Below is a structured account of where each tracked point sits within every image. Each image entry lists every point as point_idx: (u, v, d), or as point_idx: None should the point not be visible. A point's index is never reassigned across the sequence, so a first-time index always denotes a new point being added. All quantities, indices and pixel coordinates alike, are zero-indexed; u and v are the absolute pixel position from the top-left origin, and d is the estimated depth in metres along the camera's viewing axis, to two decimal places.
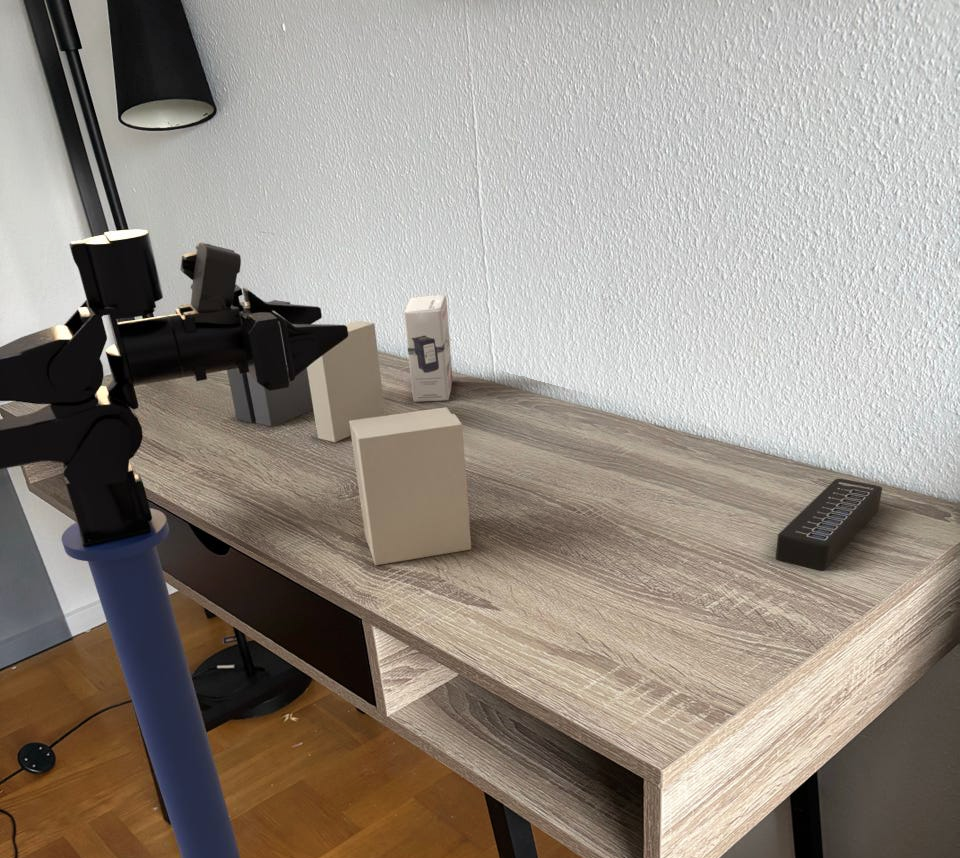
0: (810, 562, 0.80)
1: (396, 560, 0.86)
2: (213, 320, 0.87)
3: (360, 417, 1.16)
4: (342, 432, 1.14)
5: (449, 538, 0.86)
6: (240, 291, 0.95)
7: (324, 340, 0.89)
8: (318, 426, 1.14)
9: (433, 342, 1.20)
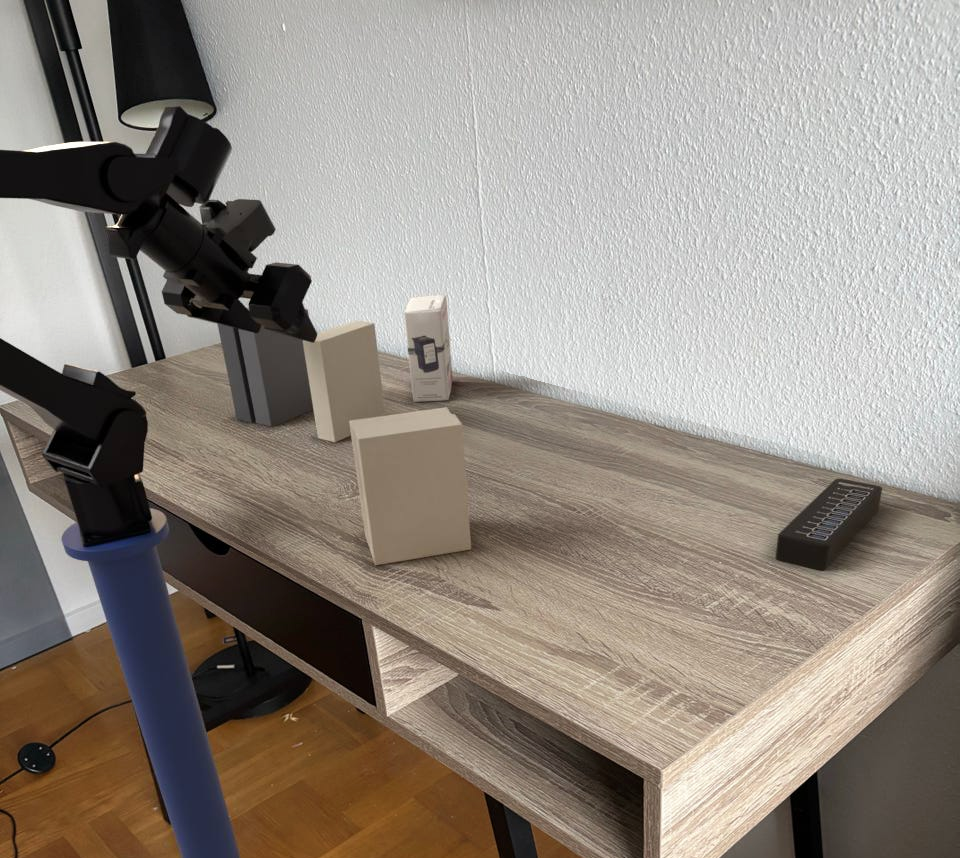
0: (810, 562, 0.80)
1: (396, 560, 0.86)
2: (237, 248, 0.93)
3: (360, 417, 1.16)
4: (342, 432, 1.14)
5: (449, 538, 0.86)
6: None
7: (304, 328, 0.99)
8: (318, 426, 1.14)
9: (433, 342, 1.20)
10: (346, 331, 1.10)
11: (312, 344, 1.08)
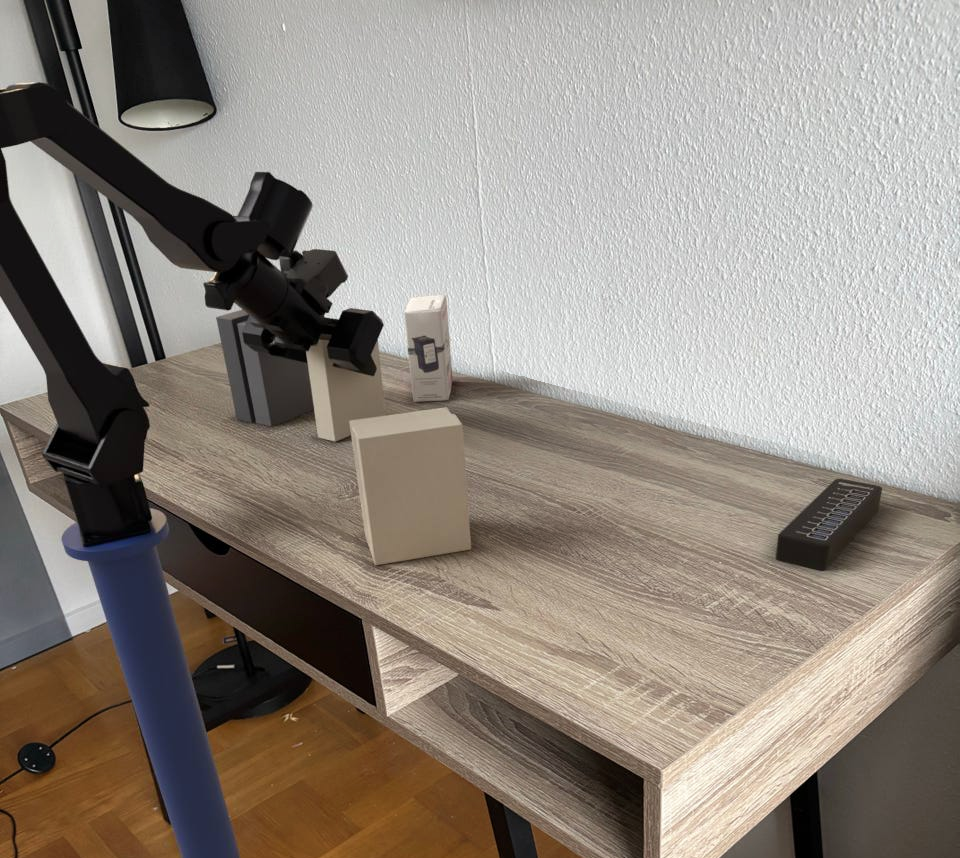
0: (810, 562, 0.80)
1: (396, 560, 0.86)
2: (316, 296, 1.03)
3: (361, 417, 1.16)
4: (342, 432, 1.14)
5: (449, 538, 0.86)
6: None
7: (366, 364, 1.10)
8: (319, 426, 1.14)
9: (433, 342, 1.20)
10: None
11: None
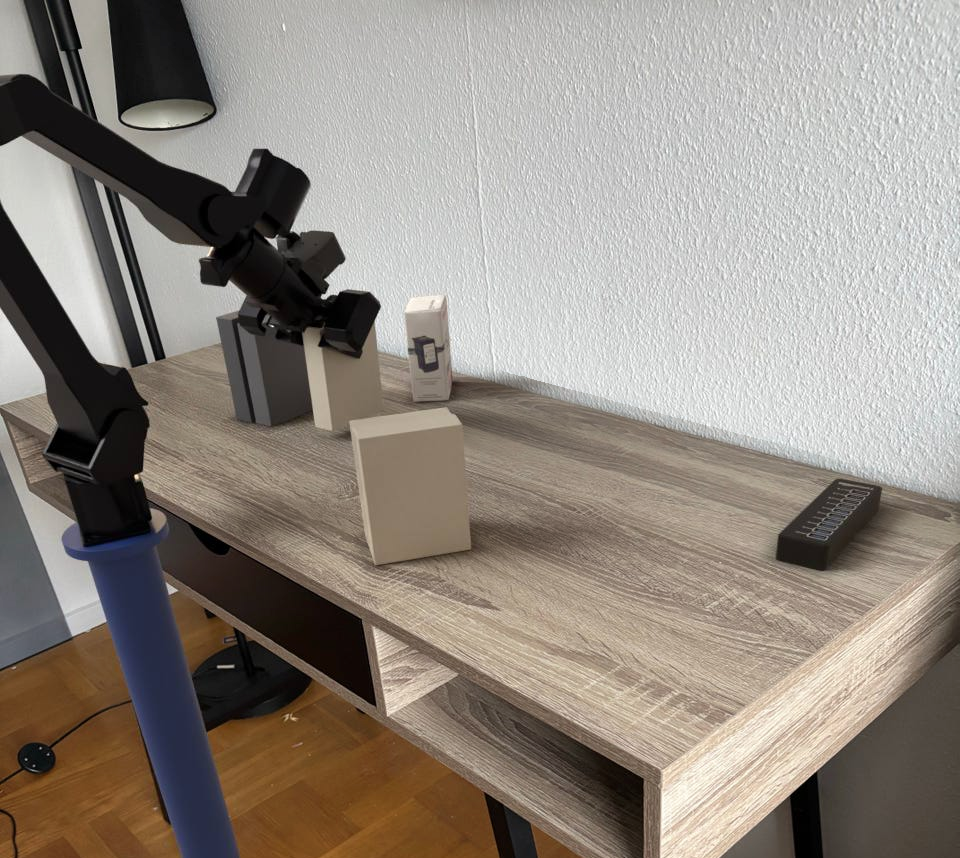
0: (810, 562, 0.80)
1: (396, 560, 0.86)
2: (313, 276, 1.02)
3: (358, 407, 1.15)
4: (340, 421, 1.13)
5: (449, 538, 0.86)
6: None
7: None
8: (316, 415, 1.13)
9: (433, 342, 1.20)
10: None
11: (311, 331, 1.07)
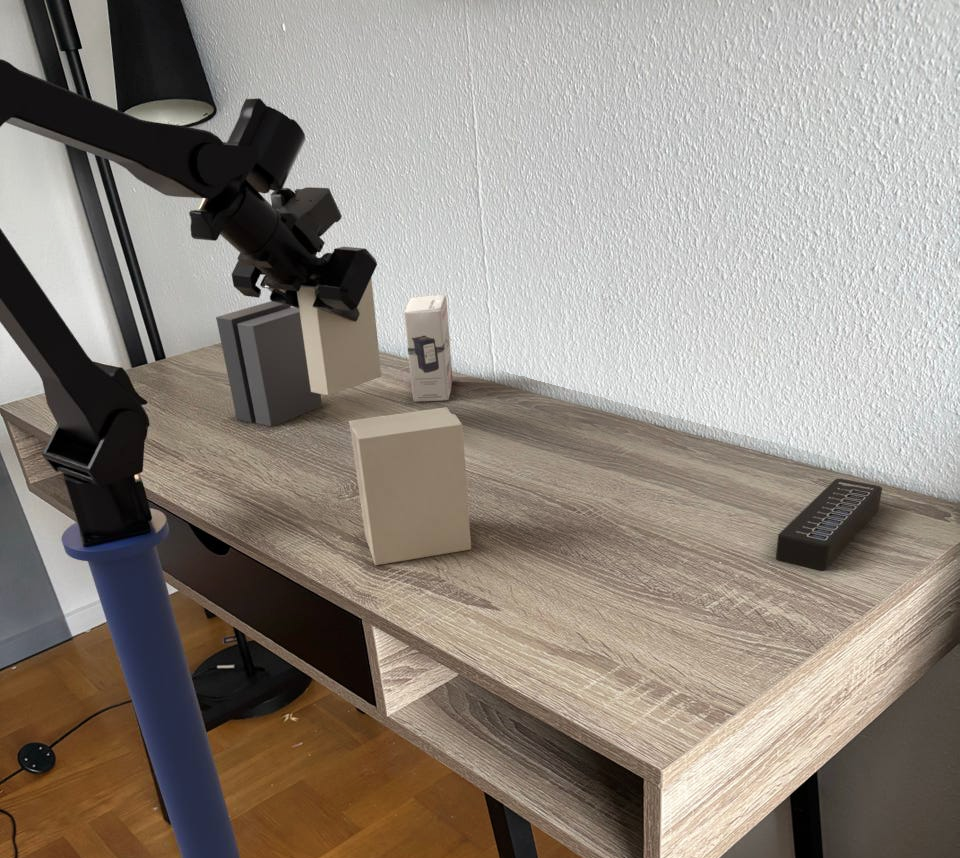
0: (810, 562, 0.80)
1: (396, 560, 0.86)
2: (307, 233, 0.99)
3: (355, 371, 1.12)
4: (336, 386, 1.10)
5: (449, 538, 0.86)
6: None
7: None
8: (311, 379, 1.10)
9: (433, 342, 1.20)
10: None
11: (306, 291, 1.05)
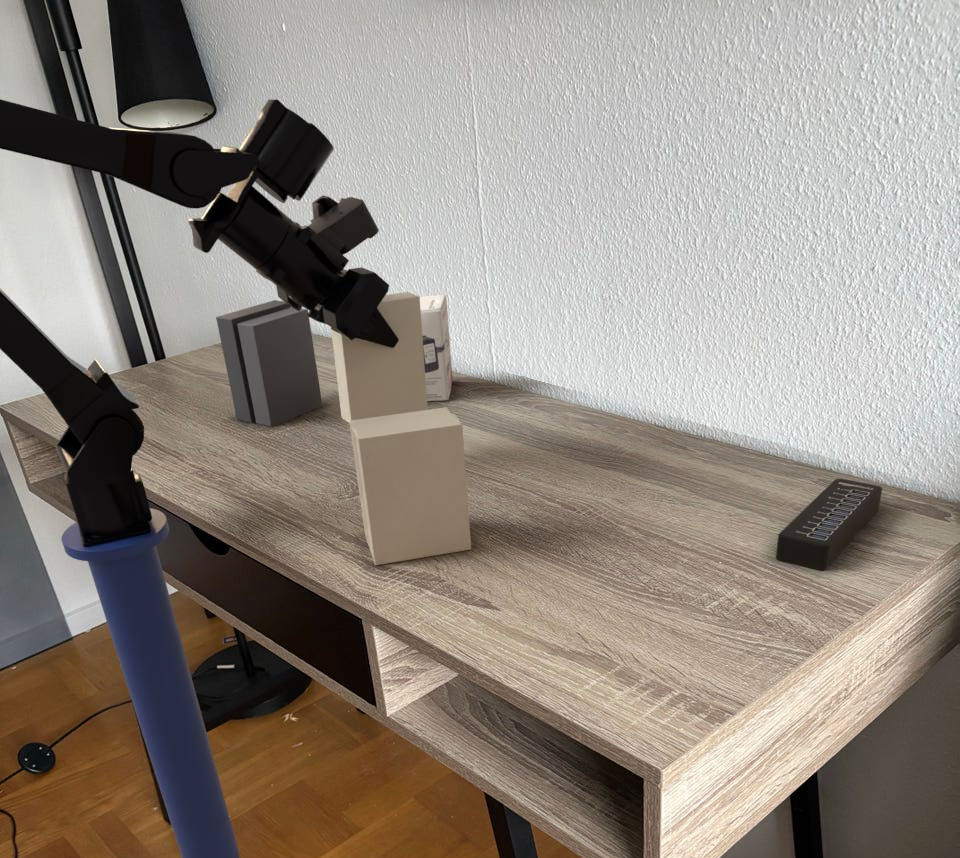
0: (810, 562, 0.80)
1: (396, 560, 0.86)
2: (325, 249, 0.90)
3: (390, 402, 1.01)
4: (362, 415, 1.01)
5: (449, 538, 0.86)
6: None
7: (379, 332, 0.96)
8: (341, 405, 1.02)
9: (433, 342, 1.20)
10: None
11: None
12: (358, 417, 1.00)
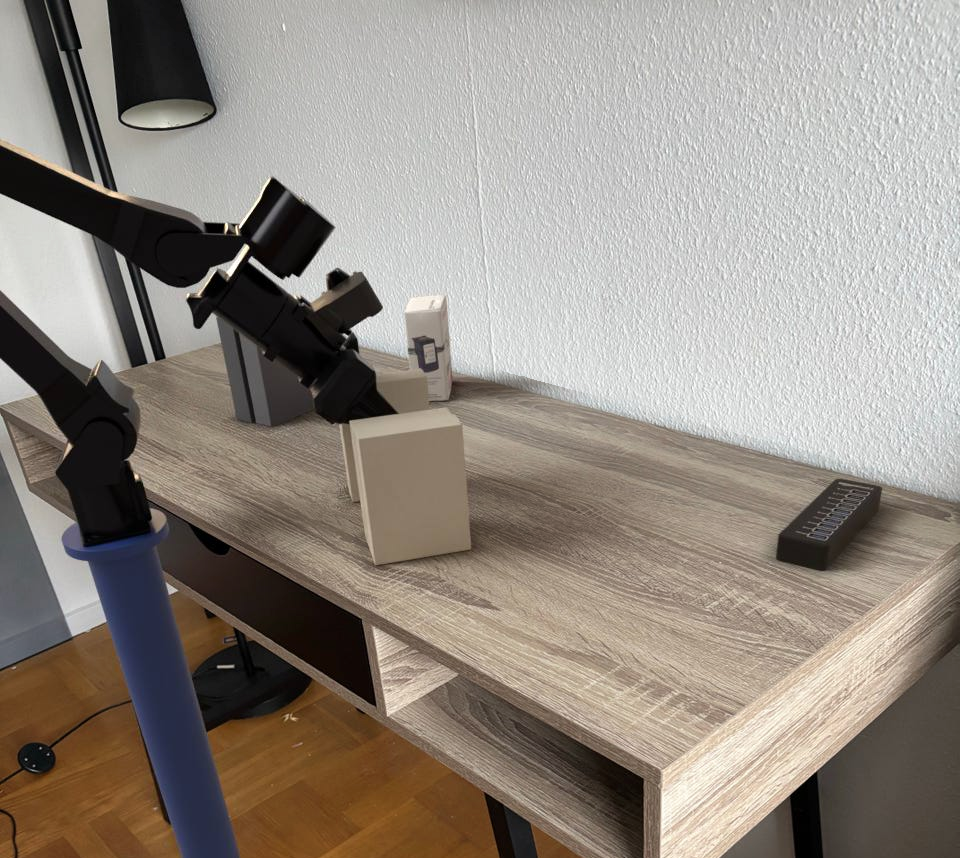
0: (810, 562, 0.80)
1: (396, 560, 0.86)
2: (320, 328, 0.87)
3: None
4: None
5: (449, 538, 0.86)
6: (349, 332, 0.96)
7: None
8: (347, 479, 0.99)
9: (433, 342, 1.20)
10: (382, 381, 0.93)
11: None
12: None
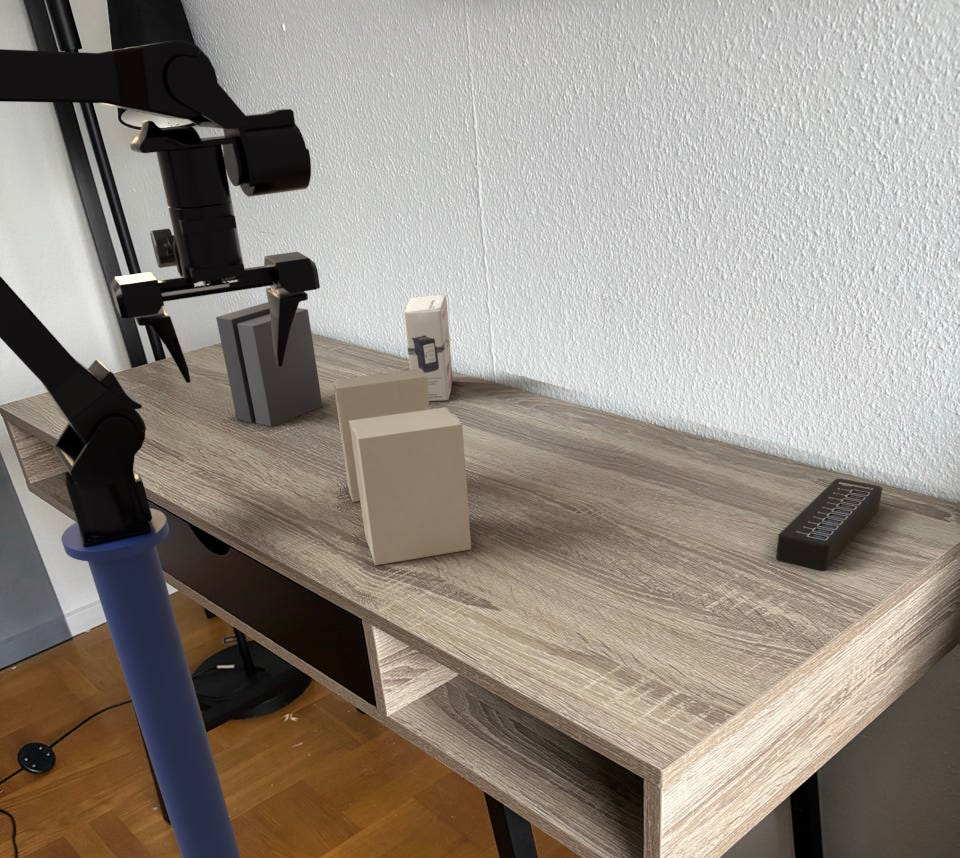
0: (811, 562, 0.80)
1: (396, 560, 0.86)
2: None
3: None
4: None
5: (449, 538, 0.86)
6: None
7: None
8: (347, 479, 0.99)
9: (433, 342, 1.20)
10: (382, 381, 0.93)
11: (335, 389, 0.93)
12: None
